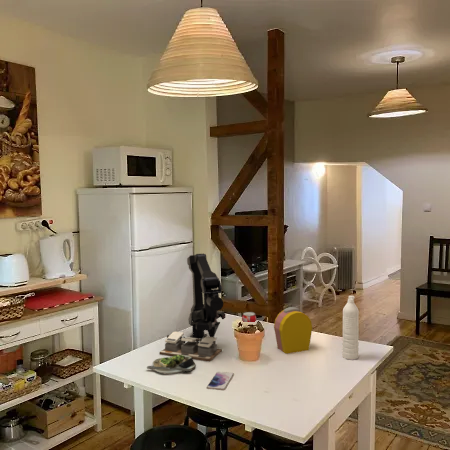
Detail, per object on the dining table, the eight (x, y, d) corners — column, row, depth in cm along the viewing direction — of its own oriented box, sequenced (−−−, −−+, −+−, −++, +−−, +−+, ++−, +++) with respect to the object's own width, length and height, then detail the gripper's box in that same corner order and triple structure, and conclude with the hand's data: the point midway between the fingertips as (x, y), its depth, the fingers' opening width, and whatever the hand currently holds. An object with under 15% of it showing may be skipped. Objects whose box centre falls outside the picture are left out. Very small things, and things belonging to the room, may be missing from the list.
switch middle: (189, 339, 208) (189, 337, 208) (199, 340, 206) (200, 338, 206) (181, 340, 201) (181, 337, 201) (191, 341, 199) (191, 339, 199)
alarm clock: (302, 344, 213) (302, 304, 212) (312, 349, 206) (312, 308, 204) (273, 348, 208) (273, 307, 207) (282, 354, 200) (281, 312, 199)
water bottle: (357, 360, 192) (358, 300, 190) (341, 359, 194) (342, 299, 192) (359, 353, 200) (359, 296, 198) (343, 352, 202) (343, 295, 200)
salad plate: (148, 379, 177) (148, 368, 176) (144, 363, 194) (144, 352, 194) (199, 373, 182) (198, 362, 181) (190, 357, 199) (190, 347, 199)
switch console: (174, 345, 214) (173, 330, 214) (222, 351, 205) (221, 336, 204) (159, 354, 202) (159, 339, 202) (209, 361, 193) (209, 346, 193)
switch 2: (206, 338, 205) (205, 335, 205) (216, 339, 203) (216, 337, 203) (198, 345, 198) (197, 343, 197) (208, 347, 196) (208, 344, 195)
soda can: (257, 340, 219) (256, 315, 218) (242, 340, 219) (241, 315, 218) (256, 336, 226) (256, 311, 225) (241, 336, 226) (241, 311, 225)
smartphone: (205, 387, 167) (216, 371, 182) (205, 389, 167) (217, 373, 182) (224, 389, 166) (234, 372, 180) (224, 391, 166) (234, 374, 180)
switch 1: (174, 333, 211) (173, 331, 211) (183, 334, 209) (183, 332, 209) (165, 342, 204) (165, 339, 204) (175, 343, 202) (175, 341, 202)
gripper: (202, 297, 214) (204, 330, 216) (184, 309, 197) (185, 344, 199) (225, 299, 210) (226, 333, 212) (208, 311, 193) (209, 347, 195)
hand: (211, 339), depth 204 cm, fingers closed
